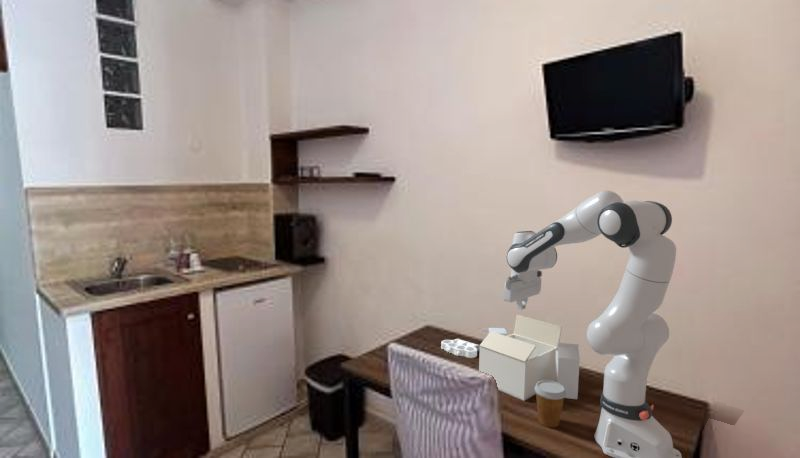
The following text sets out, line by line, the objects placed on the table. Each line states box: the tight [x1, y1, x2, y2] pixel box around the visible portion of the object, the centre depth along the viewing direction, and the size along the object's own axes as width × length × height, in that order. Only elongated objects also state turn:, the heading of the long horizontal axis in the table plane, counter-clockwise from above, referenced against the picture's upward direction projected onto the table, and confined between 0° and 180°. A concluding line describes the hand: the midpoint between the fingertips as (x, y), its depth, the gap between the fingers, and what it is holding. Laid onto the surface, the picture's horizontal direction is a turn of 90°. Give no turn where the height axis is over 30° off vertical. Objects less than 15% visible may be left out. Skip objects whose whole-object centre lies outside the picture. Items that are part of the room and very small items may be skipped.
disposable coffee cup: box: [535, 381, 566, 428], centre depth 143 cm, size 10×10×12 cm
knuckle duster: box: [440, 338, 480, 359], centre depth 203 cm, size 3×18×15 cm
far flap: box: [512, 314, 563, 347], centre depth 178 cm, size 20×8×1 cm
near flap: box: [479, 331, 536, 362], centre depth 165 cm, size 20×8×1 cm, turn 42°
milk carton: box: [554, 342, 581, 400], centre depth 162 cm, size 7×7×19 cm
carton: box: [478, 333, 557, 402], centre depth 171 cm, size 20×22×14 cm
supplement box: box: [487, 327, 508, 336], centre depth 194 cm, size 7×7×13 cm
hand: (521, 309), depth 170 cm, fingers closed
